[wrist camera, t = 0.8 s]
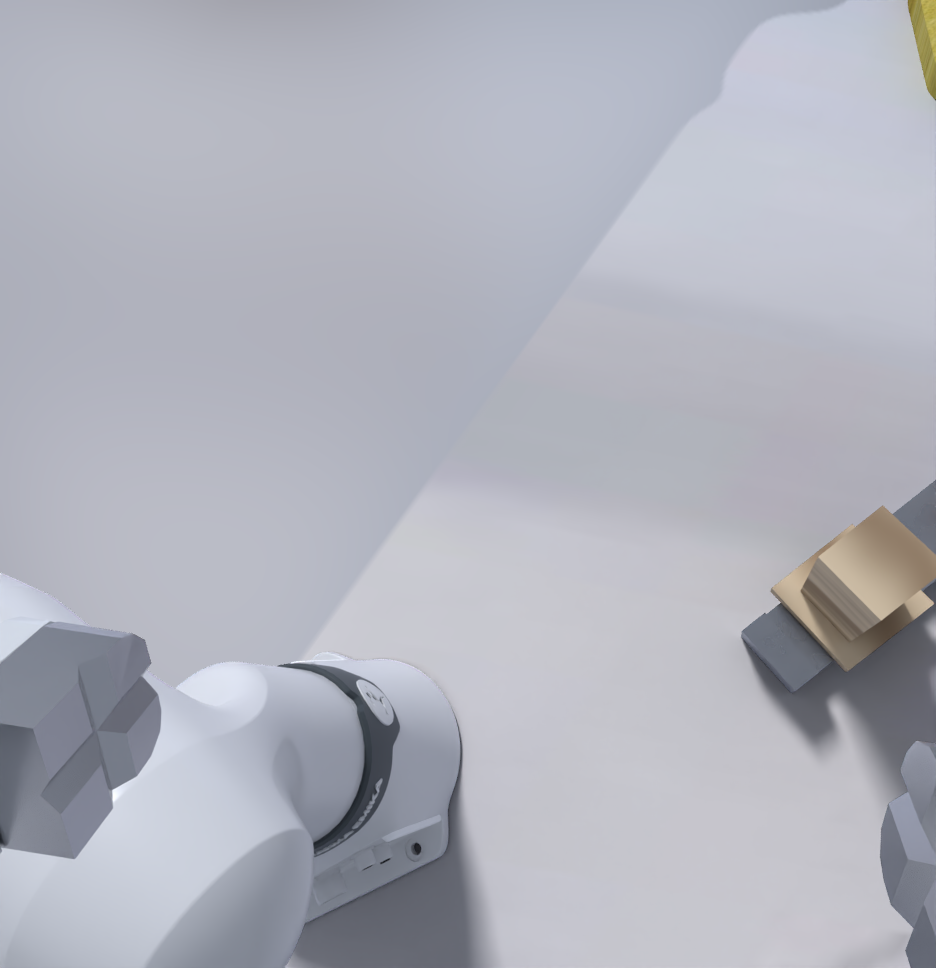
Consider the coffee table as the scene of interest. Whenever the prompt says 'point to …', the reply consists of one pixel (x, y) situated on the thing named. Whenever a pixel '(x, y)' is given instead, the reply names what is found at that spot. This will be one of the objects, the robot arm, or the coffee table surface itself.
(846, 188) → the coffee table surface
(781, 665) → the rail
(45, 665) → the robot arm
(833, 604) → the beige post on base
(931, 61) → the yellow printed disc
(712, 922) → the coffee table surface
